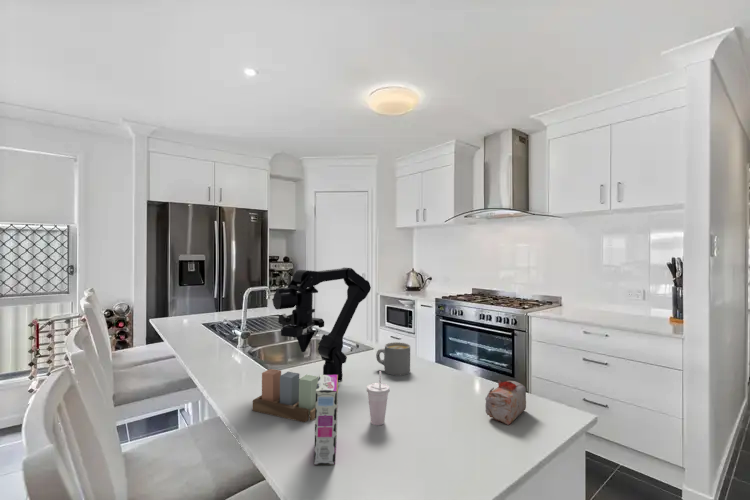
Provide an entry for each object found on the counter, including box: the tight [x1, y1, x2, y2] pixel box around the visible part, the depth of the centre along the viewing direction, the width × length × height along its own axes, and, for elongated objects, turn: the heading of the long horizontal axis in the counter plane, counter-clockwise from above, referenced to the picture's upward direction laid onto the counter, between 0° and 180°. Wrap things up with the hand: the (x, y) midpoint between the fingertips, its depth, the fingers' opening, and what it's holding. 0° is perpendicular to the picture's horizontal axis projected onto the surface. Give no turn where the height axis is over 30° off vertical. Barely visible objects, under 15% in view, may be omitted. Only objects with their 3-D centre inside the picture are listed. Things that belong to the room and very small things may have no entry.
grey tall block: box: [280, 371, 300, 406], centre depth 107 cm, size 4×4×10 cm
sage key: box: [299, 374, 319, 417], centre depth 105 cm, size 4×4×10 cm
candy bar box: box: [313, 374, 339, 466], centre depth 85 cm, size 11×5×16 cm, turn 5°
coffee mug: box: [375, 341, 411, 377], centre depth 142 cm, size 13×10×10 cm
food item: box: [485, 379, 527, 426], centre depth 104 cm, size 14×8×10 cm, turn 139°
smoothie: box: [366, 370, 390, 426], centre depth 99 cm, size 6×6×14 cm
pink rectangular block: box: [261, 368, 282, 402], centre depth 109 cm, size 4×4×10 cm
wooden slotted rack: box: [252, 394, 315, 423], centre depth 107 cm, size 10×20×3 cm, turn 68°
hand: (303, 351), depth 124 cm, fingers closed
